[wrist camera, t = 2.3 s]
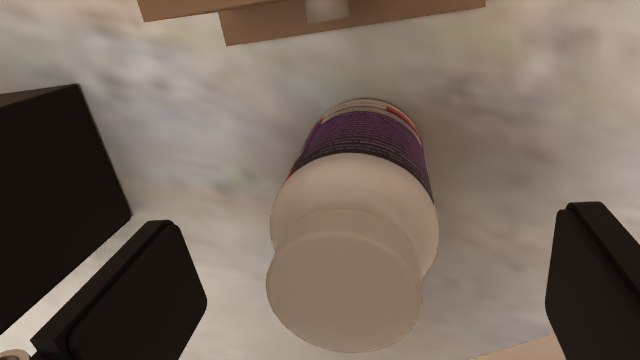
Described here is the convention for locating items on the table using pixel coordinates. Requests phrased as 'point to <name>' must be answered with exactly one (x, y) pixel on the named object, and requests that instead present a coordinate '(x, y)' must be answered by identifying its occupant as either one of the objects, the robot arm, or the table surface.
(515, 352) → the milk
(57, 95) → the tissue box
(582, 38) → the table surface
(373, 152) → the pill bottle
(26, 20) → the table surface
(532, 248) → the table surface
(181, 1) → the holder
